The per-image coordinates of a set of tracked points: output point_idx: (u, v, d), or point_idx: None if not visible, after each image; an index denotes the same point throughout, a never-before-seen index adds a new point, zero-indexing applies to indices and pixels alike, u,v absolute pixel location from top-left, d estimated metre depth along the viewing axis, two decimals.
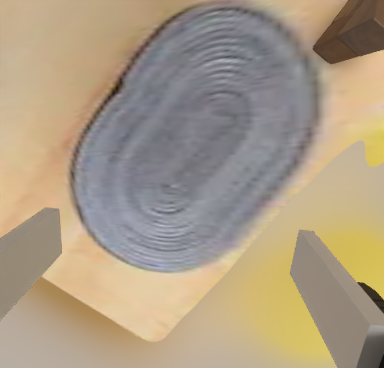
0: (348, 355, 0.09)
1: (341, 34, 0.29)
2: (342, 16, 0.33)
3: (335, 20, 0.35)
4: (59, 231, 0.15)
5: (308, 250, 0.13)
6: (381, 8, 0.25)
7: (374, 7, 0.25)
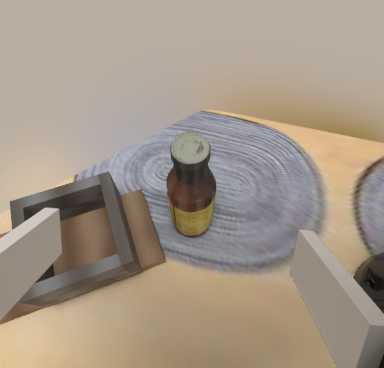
0: (348, 355, 0.09)
1: None
2: None
3: None
4: (59, 231, 0.15)
5: (308, 250, 0.13)
6: None
7: None
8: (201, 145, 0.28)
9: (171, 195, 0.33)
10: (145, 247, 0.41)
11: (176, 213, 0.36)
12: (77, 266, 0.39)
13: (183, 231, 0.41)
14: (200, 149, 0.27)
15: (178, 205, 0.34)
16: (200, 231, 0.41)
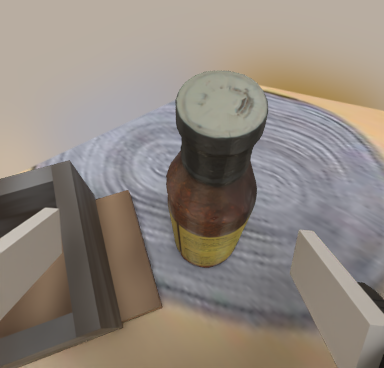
0: (348, 355, 0.09)
1: None
2: None
3: None
4: (59, 230, 0.15)
5: (308, 250, 0.13)
6: None
7: None
8: (248, 97, 0.12)
9: (174, 206, 0.17)
10: (130, 285, 0.25)
11: (182, 235, 0.20)
12: (16, 316, 0.24)
13: (192, 260, 0.25)
14: (246, 106, 0.12)
15: (186, 224, 0.18)
16: (219, 261, 0.25)
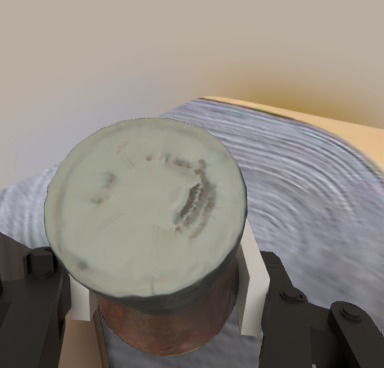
0: (242, 307, 0.11)
1: None
2: None
3: None
4: None
5: None
6: None
7: None
8: (203, 182, 0.05)
9: None
10: None
11: None
12: None
13: None
14: (198, 204, 0.05)
15: None
16: None
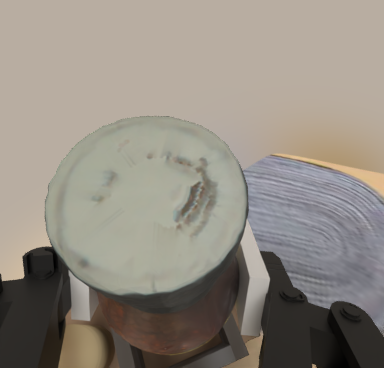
0: (242, 307, 0.11)
1: None
2: None
3: None
4: None
5: None
6: None
7: None
8: (205, 180, 0.05)
9: None
10: (237, 321, 0.37)
11: None
12: None
13: None
14: (199, 202, 0.05)
15: None
16: None
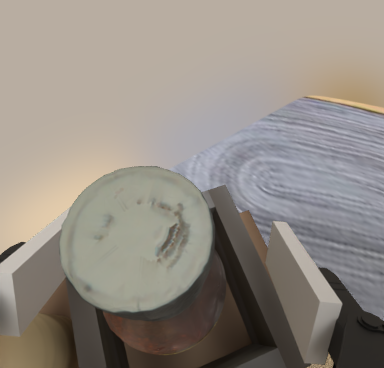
0: (304, 332, 0.10)
1: None
2: None
3: None
4: None
5: (278, 239, 0.14)
6: None
7: None
8: (180, 222, 0.07)
9: None
10: None
11: None
12: None
13: None
14: (175, 240, 0.07)
15: None
16: None
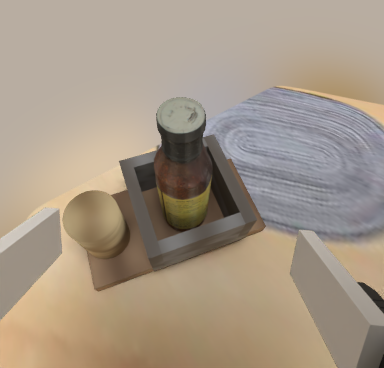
0: (348, 355, 0.09)
1: None
2: None
3: None
4: (59, 231, 0.15)
5: (307, 250, 0.13)
6: None
7: None
8: (194, 112, 0.22)
9: (159, 178, 0.28)
10: None
11: (165, 201, 0.31)
12: (178, 232, 0.38)
13: (174, 224, 0.36)
14: (193, 117, 0.22)
15: (166, 190, 0.28)
16: (193, 224, 0.36)
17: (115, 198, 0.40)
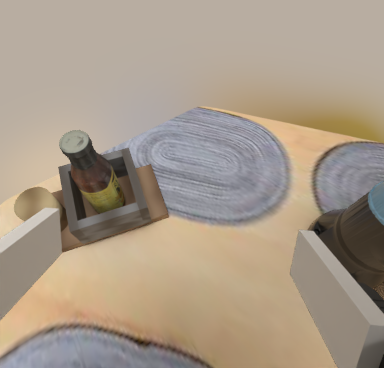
0: (348, 355, 0.09)
1: None
2: None
3: None
4: (59, 231, 0.15)
5: (308, 250, 0.13)
6: None
7: None
8: (82, 140, 0.38)
9: (73, 178, 0.43)
10: (154, 205, 0.55)
11: (83, 194, 0.46)
12: None
13: (97, 211, 0.51)
14: (80, 142, 0.37)
15: (80, 187, 0.44)
16: None
17: (61, 193, 0.55)
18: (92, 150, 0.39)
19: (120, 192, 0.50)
